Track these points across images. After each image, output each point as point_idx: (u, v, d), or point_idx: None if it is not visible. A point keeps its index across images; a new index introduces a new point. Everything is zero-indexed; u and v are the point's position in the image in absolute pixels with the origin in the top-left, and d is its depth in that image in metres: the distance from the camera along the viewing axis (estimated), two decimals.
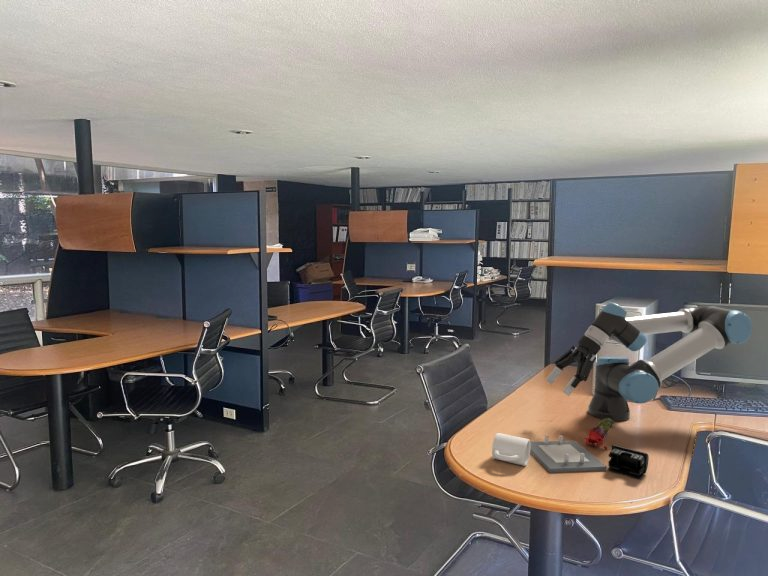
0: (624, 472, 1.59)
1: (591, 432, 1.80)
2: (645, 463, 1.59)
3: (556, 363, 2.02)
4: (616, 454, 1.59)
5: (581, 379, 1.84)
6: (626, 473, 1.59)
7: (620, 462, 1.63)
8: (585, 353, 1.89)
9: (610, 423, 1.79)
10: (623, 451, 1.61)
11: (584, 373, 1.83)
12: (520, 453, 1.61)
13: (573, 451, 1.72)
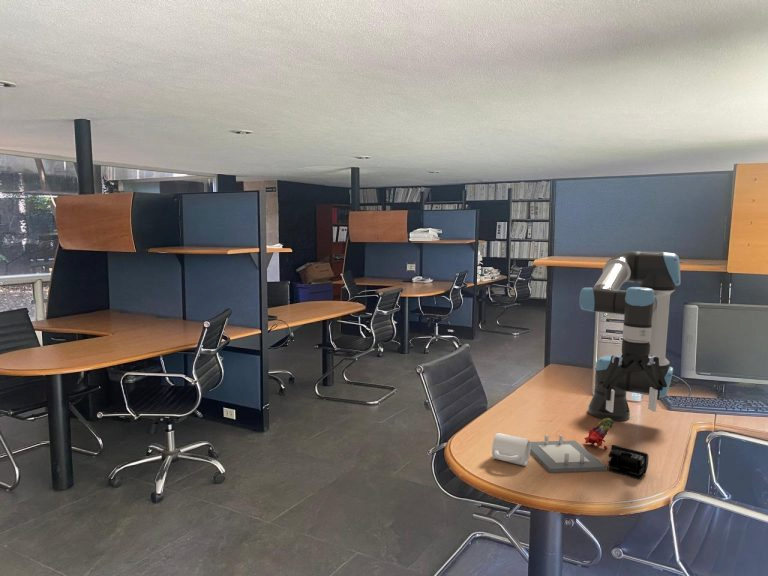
0: (624, 472, 1.59)
1: (591, 432, 1.80)
2: (645, 463, 1.59)
3: None
4: (616, 454, 1.59)
5: None
6: (626, 473, 1.59)
7: (620, 462, 1.63)
8: (647, 359, 1.57)
9: (610, 423, 1.79)
10: (623, 451, 1.61)
11: None
12: (520, 453, 1.61)
13: (573, 451, 1.72)
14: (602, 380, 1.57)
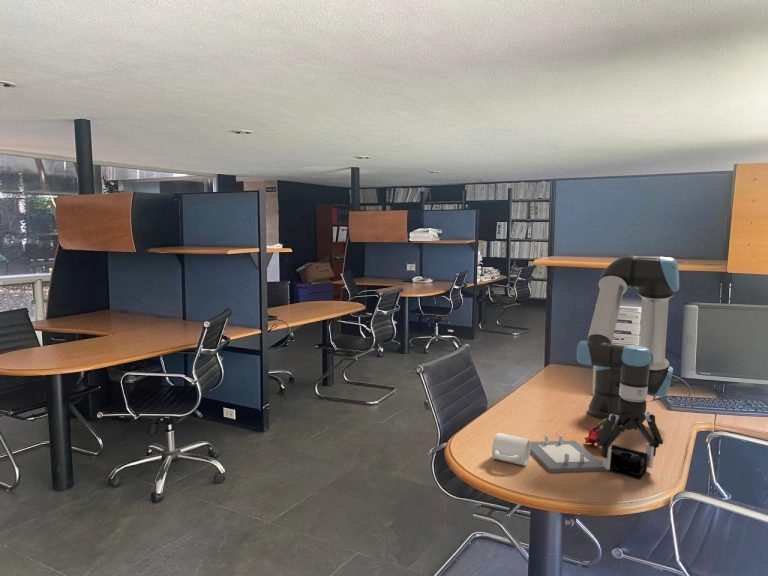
0: (624, 472, 1.59)
1: (591, 432, 1.80)
2: (645, 463, 1.59)
3: None
4: (616, 454, 1.59)
5: None
6: (626, 473, 1.59)
7: (620, 462, 1.63)
8: (643, 417, 1.59)
9: None
10: (623, 451, 1.61)
11: None
12: (520, 453, 1.61)
13: (573, 451, 1.72)
14: (599, 438, 1.59)
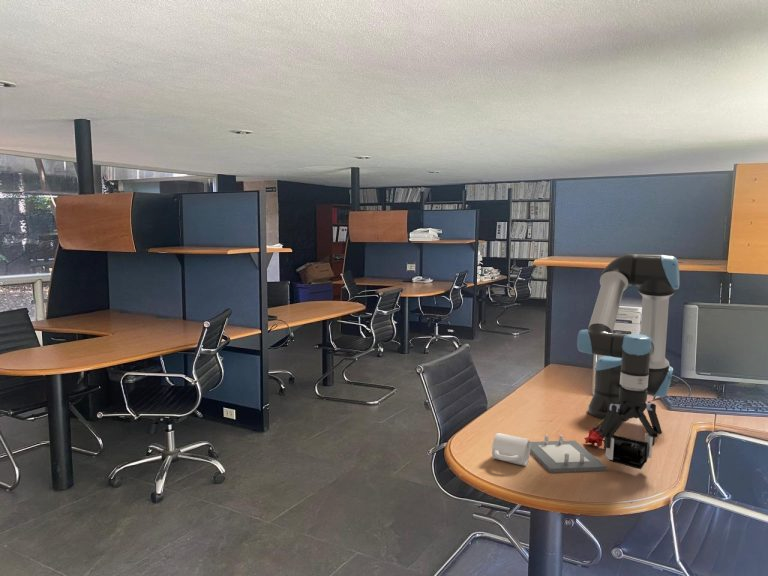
0: (625, 462, 1.60)
1: (591, 432, 1.80)
2: (645, 452, 1.59)
3: None
4: (616, 444, 1.60)
5: None
6: (627, 463, 1.59)
7: (621, 452, 1.64)
8: (644, 406, 1.59)
9: None
10: (623, 441, 1.61)
11: None
12: (520, 453, 1.61)
13: (573, 451, 1.72)
14: (601, 428, 1.59)
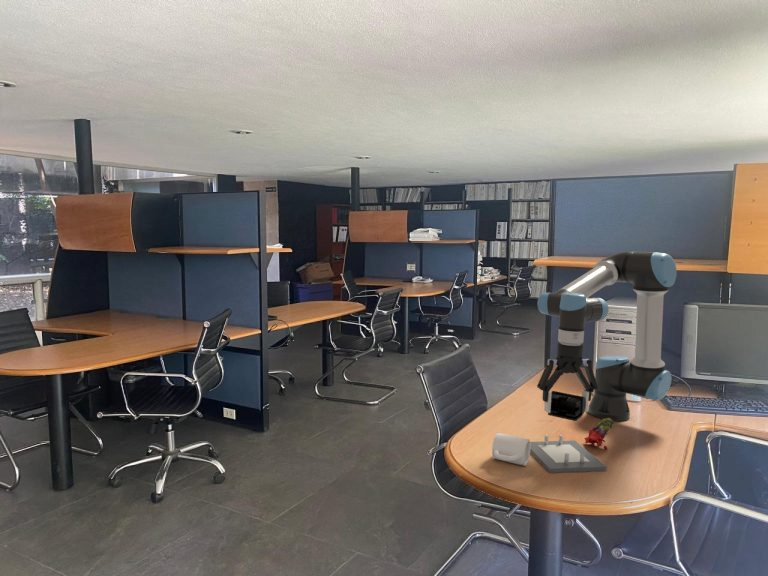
0: (562, 415, 1.67)
1: (591, 432, 1.80)
2: (581, 406, 1.66)
3: None
4: (554, 398, 1.67)
5: None
6: (563, 416, 1.66)
7: (559, 407, 1.71)
8: (580, 361, 1.66)
9: (610, 423, 1.79)
10: (561, 395, 1.68)
11: None
12: (520, 453, 1.61)
13: (573, 451, 1.72)
14: (540, 382, 1.66)
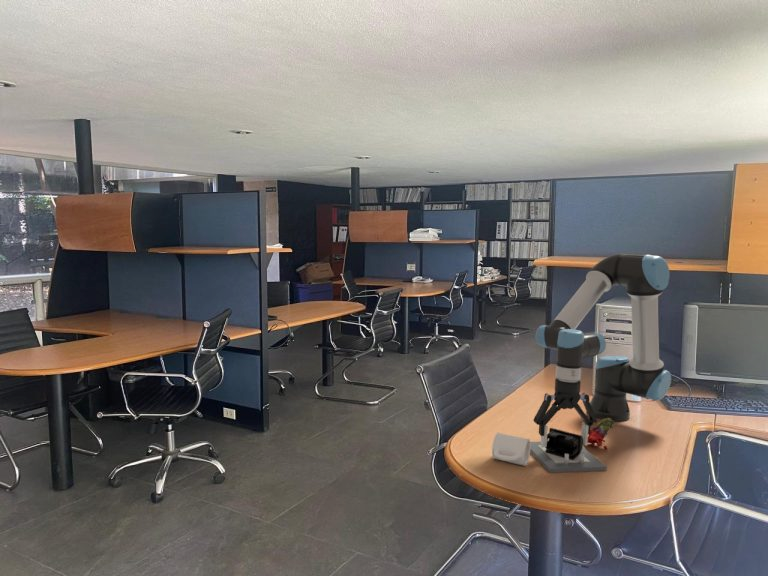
0: (559, 453, 1.68)
1: (591, 432, 1.80)
2: (579, 445, 1.67)
3: None
4: (552, 436, 1.68)
5: None
6: (561, 454, 1.68)
7: (557, 444, 1.72)
8: (578, 397, 1.67)
9: (610, 423, 1.79)
10: (559, 433, 1.70)
11: None
12: (520, 453, 1.61)
13: None
14: (536, 417, 1.68)
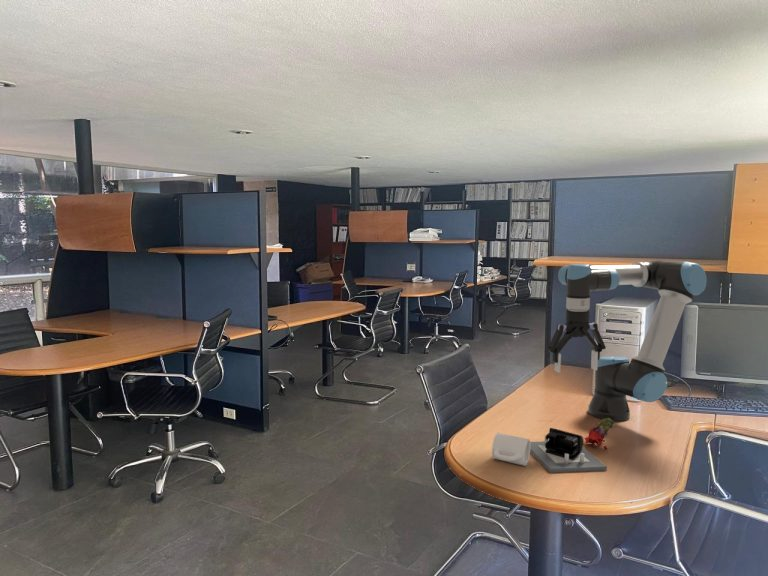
0: (559, 453, 1.68)
1: (591, 432, 1.80)
2: (579, 445, 1.67)
3: None
4: (552, 436, 1.68)
5: None
6: (561, 454, 1.68)
7: (557, 444, 1.72)
8: (587, 325, 1.82)
9: (610, 423, 1.79)
10: (559, 433, 1.70)
11: None
12: (520, 453, 1.61)
13: None
14: (550, 345, 1.82)
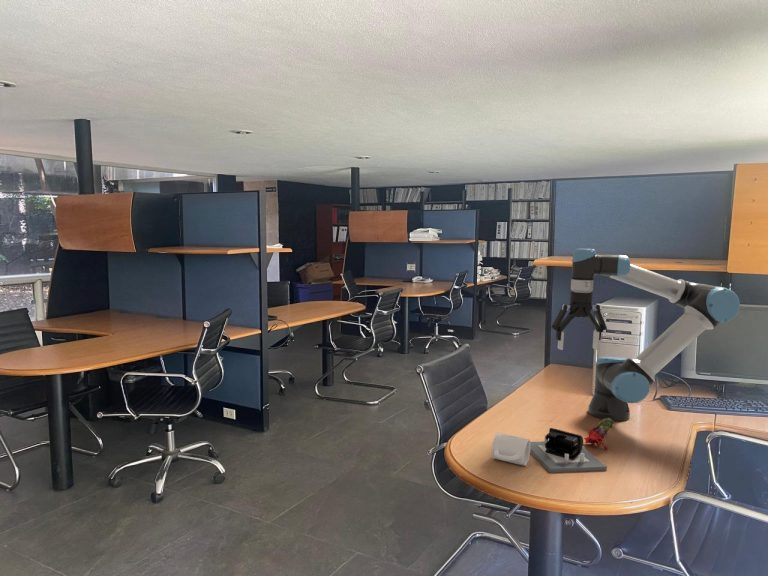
0: (559, 453, 1.68)
1: (591, 432, 1.80)
2: (579, 445, 1.67)
3: (556, 329, 1.93)
4: (552, 436, 1.68)
5: None
6: (561, 454, 1.68)
7: (557, 444, 1.72)
8: (590, 307, 1.94)
9: (610, 423, 1.79)
10: (559, 433, 1.70)
11: None
12: (520, 453, 1.61)
13: None
14: (554, 324, 1.94)
